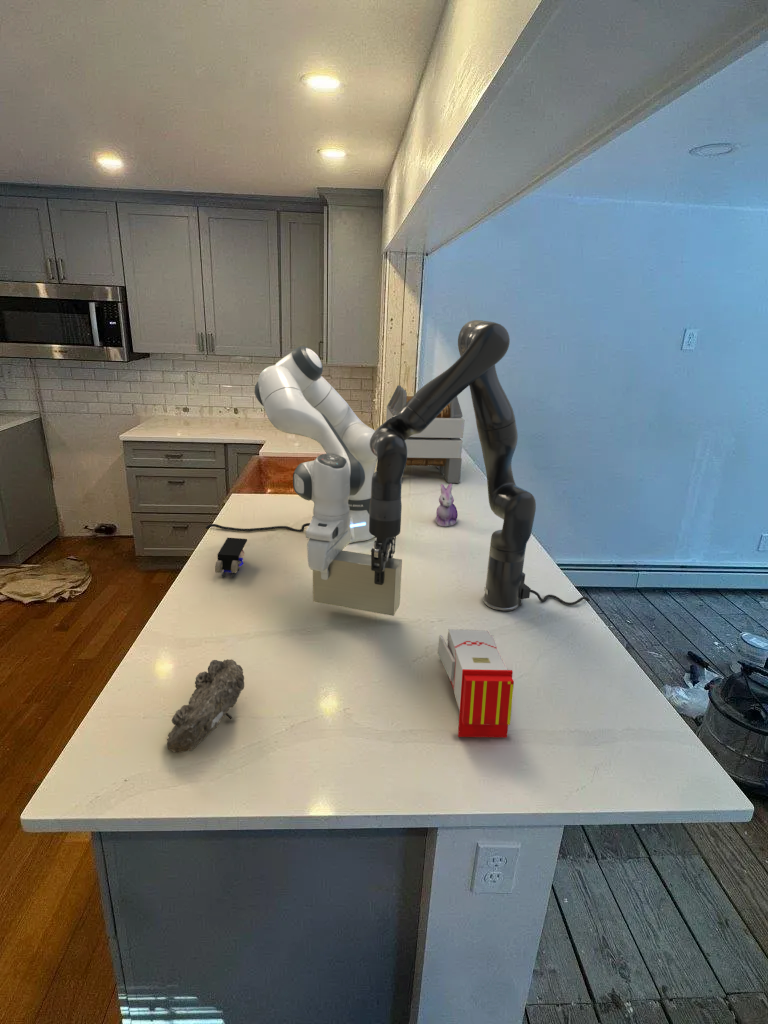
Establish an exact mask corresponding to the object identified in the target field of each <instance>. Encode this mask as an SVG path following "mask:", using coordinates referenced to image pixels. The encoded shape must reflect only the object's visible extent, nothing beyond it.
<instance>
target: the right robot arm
mask: <svg viewBox="0 0 768 1024" xmlns="http://www.w3.org/2000/svg"><path fill="white" fill-rule="evenodd" d="M510 340H511V339H510V334H509V332H508V330H507V328H506V327H505V326H504V325H502V324H501V323H497V322H495V321H488V320H480V319H473V320H470V321H469V320H468V321H467V322H466V323H465V324H464V325H463V326H462V327H461V328H460V331H459V332H458V337H457V348H458V354H459V358H458V359H457V360H456V361H455V362H454V363H453V364H451V366H449V367H448V368H446V369H445V371H443V372H441V373H440V374H438V375H437V376H436V377H434V378H433V379H431V380H429V382H427V383H425V384H424V385H423V386H422V387H421V388H420V389H418V390H417V391H416V392H415V393H414V394H413V395H412V396H413V397H412V398H411V399H410V400H409V401H408V402H407V403H406V404H405V405H404V407H403V408H402V409H401V410H400V411H399V412H398V413H397V414H395V415H394V416H392V417H391V418H390V419H388V420H387V421H386V420H385V421H384V422H383V423H382V424H381V425H379V426H378V428H377V429H376V430H375V432H374V433H373V435H372V437H371V439H370V449H371V451H372V453H373V454H374V455H375V456H376V457H377V462H376V469H375V470H376V471H374V474H373V476H372V483H371V501H370V514H369V532H370V534H372V535H374V536H375V537H374V538H376V539H375V540H374V542H373V547H372V548H371V549H370V555H371V570H372V571H375V576H374V583H375V584H378V585H383V583H384V570H385V563H386V562H387V561H388V557H389V558H394V555H395V553H396V543H397V537H398V536H399V535H400V534H401V528H402V526H401V525H402V510H403V509H402V507H403V506H402V505H403V504H402V486H403V485H402V484H403V476H404V473H405V469H406V466H407V465H406V460H407V445H406V442H405V440H406V439H408V438H409V437H410V436H411V435H413V434H419V433H421V432H422V431H423V430H425V429H426V427H427V426H428V425H429V424H430V423H431V422H432V421H433V420H434V419H435V418H436V417H437V416H438V415H439V413H440V412H441V411H442V410H443V409H444V408H445V407H446V406H447V405H448V404H449V403H450V402H451V401H452V400H453V399H454V398H455V397H456V396H457V397H458V396H459V395H460V394H461V393H462V392H464V390H465V389H467V388H468V387H469V390H470V397H471V402H472V407H473V413H474V417H475V424H476V431H477V434H478V439H479V443H480V448H481V452H482V458H483V463H484V468H485V475H486V484H487V496H488V504H489V508H490V510H491V511H492V513H493V514H494V515H495V516H497V517H498V518H500V519H502V520H503V522H502V528H501V529H498V530H495V531H493V532H492V533H491V536H490V543H489V553H488V562H487V571H486V579H485V586H484V589H483V591H484V595H483V603H484V605H486V606H487V607H489V609H492V610H496V611H501V612H510V611H514V610H516V609H518V607H521V606H522V601H523V600H526V599H530V596H531V594H534V595H535V596H536V598H538V600H539V601H540V602H542V603H544V602H546V601H547V600H548V598H552V599H555V600H556V601H558V602H560V603H561V604H563V605H566V606H574V605H577V604H579V603H581V602H582V601H587V602H590V601H591V600H590V599H589V597H587V596H582V597H581V596H580V597H579V598H578V599H576V600H575V601H572V602H571V601H570V602H569V601H565V600H563V599H561V598H560V597H558V596H557V595H554V594H546V595H545V596H544V597H543V598H542V597H541V594H540V593H539V592H537V591H536V590H534V589H532V588H531V587H529V586H528V585H527V584H526V583H525V580H526V573H524V564H525V557H526V549H527V544H528V542H529V540H530V538H531V535H532V531H533V527H534V526H533V525H534V521H535V516H536V511H537V503H536V499H535V496H534V494H532V493H531V492H530V491H528V490H526V489H523V488H522V487H520V486H517V484H516V482H515V478H514V473H513V468H512V461H513V457H514V454H515V452H516V449H517V446H518V441H519V433H518V428H517V422H516V415H515V412H514V411H515V410H514V408H513V407H512V404H511V402H510V399H509V398H508V396H507V394H506V392H505V389H504V388H503V386H502V384H501V382H500V380H499V377H498V374H497V368H496V364H498V363H499V362H500V361H501V360H503V358H504V357H505V356H506V354H507V352H508V351H509V347H510V344H511V343H510ZM383 557H385V558H383ZM377 564H379V566H378V565H377ZM583 599H584V600H583Z"/></svg>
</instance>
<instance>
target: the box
mask: <svg viewBox="0 0 768 1024" xmlns="http://www.w3.org/2000/svg"><path fill="white" fill-rule="evenodd" d="M383 558H385V557H383ZM377 565H378V566H379V564H377ZM402 565H403V559H401V558H394V557H393V558H389V557H388V561H387V562H386V563H385V570H384V583H383V585H378V584H375V583H374V576H375V571H372V570H371V554H368V553H361V552H355V551H348V550H342V551H341V552H340V553H339V554H338V555H337V556H336V557H335V558H334V559H333V561H332V562H331V563H330V564H329V567H328V571H330V577H329V578H328V579H327V580H323V579H321V572H320V571H315V570H312V603H319V604H325V605H328V606H329V605H330V606H335V607H342V608H348V609H353V610H357V611H364V612H370V613H375V614H380V615H386V616H391V617H394V616H395V614H396V613H397V610H398V609H399V607H400V604H401V589H402V587H401V586H402Z"/></svg>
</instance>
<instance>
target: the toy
mask: <svg viewBox="0 0 768 1024" xmlns="http://www.w3.org/2000/svg"><path fill="white" fill-rule="evenodd" d="M446 640H447V643H446V641H445V639H444V636H443V635H442V634H439V637H438V646H437V656H438V657H439V659H440V661H441V663H442V666H443V668H444V670H445V672H446V674H447V677H448V679H449V681H450V684H451V687H452V690H453V693H454V697H455V701H456V705H457V708H458V711H459V714H458V715H459V716H458V730H457V731H458V732H457V737H458V738H508V731H509V726H510V725H511V717H512V707H513V697H514V696H513V695H514V684H515V680H514V679H513V673H514V671H513V670H512V669H508V667H507V665H506V662H505V661H504V659H503V658H502V655H501V653H500V651H499V649H498V647H497V643H496V639H495V637H494V635H493V634H491V632H490V631H489V629H467V628H466V629H465V628H463V629H461V628H460V629H459V628H448V630H447V639H446Z"/></svg>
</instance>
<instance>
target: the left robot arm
mask: <svg viewBox="0 0 768 1024" xmlns="http://www.w3.org/2000/svg"><path fill="white" fill-rule="evenodd" d="M323 369H324V366H323V363H322V361H321V358H320V356H318V354H317V353H316V352H315V351H314V350H312V349H311V348H310V347H308V346H304V345H300V346H298V347H295V348H294V349H292V350H291V352H290V353H288V354H286V355H285V356H284V357H282V358H281V359H279V360H278V361H277V362H276V363H275V364H274V365H269V366H266V367H265V368H264V369H263V370H262V371H261V372H260V373H259V376H258V377H257V382H256V383H255V384H254V395H255V398H256V400H257V401H258V402H259V404H260V405H261V406H262V407H263V409H264V412H265V414H266V416H267V419H268V420H269V423H270V424H272V426H273V427H274V428H275V429H277V430H278V431H281V432H282V433H285V434H289V435H295V436H301V437H305V438H308V439H311V440H313V441H315V442H316V443H318V444H319V445H320V446H321V447H322V449H323V450H324V452H325V453H322V454H320V455H318V456H317V457H316V458H315V459H314V460H310V461H304V462H301V463H299V464H298V465H297V466H296V468H295V469H294V471H293V475H292V485H293V490H294V492H295V494H296V495H298V496H299V497H300V498H301V499H303V500H305V501H307V502H308V501H312V502H313V508H312V517H311V520H310V522H307V523H303V524H302V525H301V528H299V529H297V528H294V527H290V526H287V525H275V526H266V527H265V526H263V527H251V528H241V527H231V526H223V525H220V524H217V523H210V524H208V525H206V526H205V528H204V529H206V530H208V529H210V528H213V527H214V528H217V529H221V530H226V531H233V532H259V531H260V532H261V531H269V530H288V531H291V532H296V533H302V532H304V530H305V527H307V528H306V530H305V538H306V539H308V540H307V565H308V568H309V569H310V570H311V571H313V570H315V571H320V572H321V579H323V580H327V579H328V578H329V577H330V571H328V567H329V564H330V563H331V562H332V561H333V559H334V558H335V557H336V556H337V555H338V554H339V553H340V552H341V551H344V549H345V548H346V547H347V546H348V545H349V544H352V543H357V542H365V541H368V540H372V539H373V538H376V537H375V536H374V535H372V534H370V532H369V514H370V501H371V483H372V476H373V474H374V473H375V470H376V467H377V457H376V456H375V455H374V454H373V453H372V451H371V449H370V439H371V437H372V435H373V433H374V432H375V431H376V430H374V428H372V427H370V426H369V425H367V424H366V423H364V422H363V421H362V420H361V419H360V418H359V417H358V415H357V414H356V413H355V411H354V410H353V409H352V408H351V406H350V405H349V403H348V402H347V401H346V400H345V399H344V398H343V396H341V395H340V393H339V392H338V391H337V390H336V389H335V388H334V387H333V385H332V384H330V382H329V381H328V380H326V378H325V377H323V376H322V374H323Z"/></svg>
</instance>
